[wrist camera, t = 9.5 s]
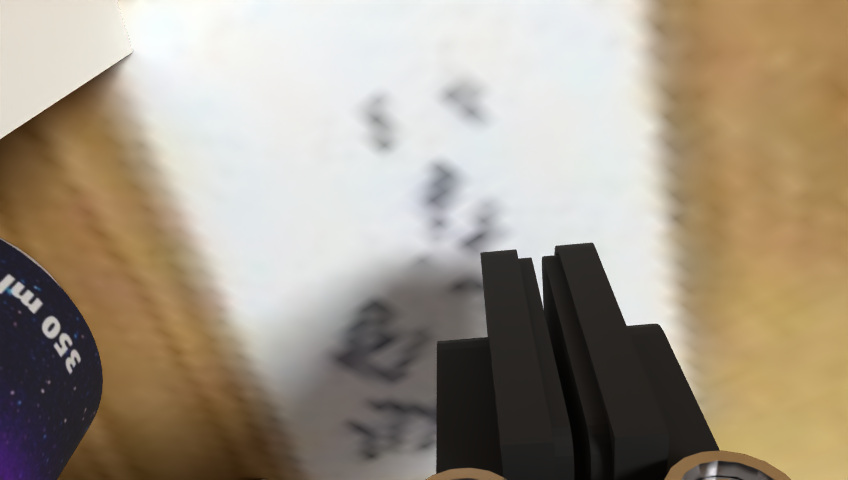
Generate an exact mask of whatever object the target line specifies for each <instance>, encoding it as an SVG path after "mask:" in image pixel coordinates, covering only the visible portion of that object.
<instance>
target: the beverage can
mask: <svg viewBox="0 0 848 480" xmlns="http://www.w3.org/2000/svg"><path fill="white" fill-rule="evenodd" d="M102 383H103V378H102V367H101V361H100V356H99V353H98V349H97V346H96V343H95V340H94V338H93V336H92V333H91V331H90V329H89V327H88V325H87V323H86V322H85V320H84V318H83V316H82V315H81V313H80V312H79V310H78V309H77V307H76V306H75V304H74V303H73V302H72V300H71V299H70V298H69V296H68V295H67V294H66V293H65V292H64V290H63V289H62V288H61V286H60V285H59V284H58V283H57V282H56V280H55V279H54V278H53V277H52V276H51V275H50V273H49V272H48V271H47V270H45V269H44V268H43V267H42V266H41V265H40V264H39V263H38V262H37V261H35V260H34V259H33V258H32V257H30V256H29V255H28V254H26V253H25V252H23V251H22V250H20V249H19V248H18V247H16V246H14V245H12V244H11V243H9V242H7V241H5V240H3V239H1V238H0V480H57V479H58V477H59V475H60V474H61V472H62V470H63V469H64V467H65V466H66V464H67V462H68V461H69V459H70V457H71V456H72V454H73V452H74V451H75V449H76V448H77V446H78V444H79V443H80V441H81V439H82V438H83V436H84V434H85V433H86V431H87V429H88V428H89V426H90V425H91V423H92V421H93V419H94V417H95V415H96V413H97V410H98V407H99V404H100V400H101V394H102Z"/></svg>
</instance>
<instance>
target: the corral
mask: <svg viewBox="0 0 848 480" xmlns="http://www.w3.org/2000/svg"><path fill="white" fill-rule="evenodd" d="M132 52H133V49H132V46H131V43H130V39H129V36H128V33H127V30H126V26H125V23H124V20H123V17H122V13H121V10H120V7H119V4H118V0H0V139H1V138H3V137H4V136H6V135H7V134H9V133H10V132H12V131H13V130H15V129H16V128H18V127H19V126H21V125H22V124H24V123H25V122H27V121H28V120H30V119H32V118H33V117H35V116H36V115H38V114H39V113H41V112H42V111H44V110H45V109H47V108H48V107H50V106H51V105H53V104H54V103H56V102H57V101H59V100H60V99H62V98H63V97H65V96H67V95H68V94H70V93H71V92H73V91H74V90H76V89H77V88H79V87H80V86H82V85H83V84H85V83H86V82H88V81H89V80H91V79H92V78H94V77H95V76H97V75H98V74H100V73H101V72H103V71H105V70H106V69H108V68H109V67H111V66H112V65H114V64H115V63H117V62H118V61H120V60H121V59H123V58H124V57H126V56H127V55H129V54H130V53H132ZM263 480H265V479H263Z"/></svg>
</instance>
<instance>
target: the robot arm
mask: <svg viewBox="0 0 848 480" xmlns="http://www.w3.org/2000/svg"><path fill="white" fill-rule="evenodd" d="M481 264H482V275H483V287H484V298H485V310H486V321H487V333H488V337H486V338H473V339H461V340H449V341H438V343H437V465H436V474H435V475H432V476H431V477H429V478H427V479H426V480H791V479H790V478H789V477H788V476H787V475H786V474H785V473H783V472H781V471H780V470H778V469H776V468H775V467H773V466H772V465H770V464H768V463H767V462H765V461H762V460H759V459H757V458H754V457H751V456H748V455H746V454H741V453H735V452H728V451H720V450H719V448H718V446H717V444H716V441H715V439H714V437H713V435H712V433H711V431H710V429H709V427H708V424H707V422H706V420H705V418H704V416H703V414H702V412H701V410H700V408H699V405H698V403H697V401H696V399H695V397H694V395H693V393H692V391H691V388H690V386H689V384H688V382H687V380H686V378H685V376H684V374H683V371H682V369H681V367H680V365H679V363H678V361H677V359H676V357H675V355H674V352H673V350H672V348H671V346H670V344H669V342H668V340H667V338H666V335H665V333H664V331H663V330H662V328H661V327H660V325H658V324H645V325H633V326H626V324H625V321H624V319H623V316H622V314H621V311H620V309H619V306H618V303H617V301H616V298H615V296H614V293H613V291H612V288H611V286H610V283H609V281H608V278H607V276H606V273H605V271H604V268H603V266H602V263H601V261H600V258H599V256H598V253H597V251H596V248H595V246H594V244H593V243H583V244H572V245H560V246H556V247H555V256H544V257H542V279H543V304H544V310H543V305H542V301H541V297H540V292H539V288H538V284H537V279H536V275H535V271H534V266H533V262H532V258H521V259H518V255H517V251H516V250H505V251H494V252H483V253H481Z"/></svg>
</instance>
